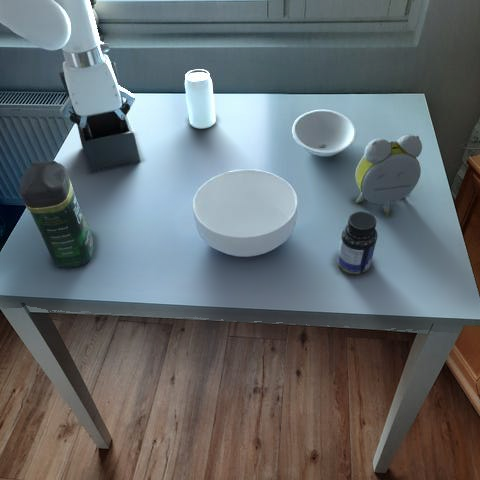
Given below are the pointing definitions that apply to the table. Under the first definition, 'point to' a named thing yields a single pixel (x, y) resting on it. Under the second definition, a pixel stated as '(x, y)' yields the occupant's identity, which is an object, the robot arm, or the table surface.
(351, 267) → the pill bottle
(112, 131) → the open grey storage bin
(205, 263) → the table surface
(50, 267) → the table surface
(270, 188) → the bowl
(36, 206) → the coffee jar
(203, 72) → the can
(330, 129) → the dish
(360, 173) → the alarm clock
